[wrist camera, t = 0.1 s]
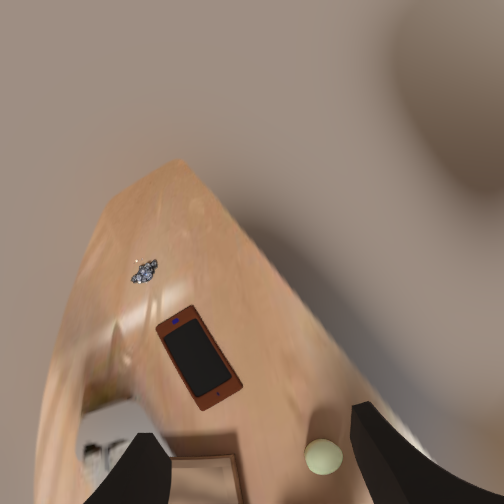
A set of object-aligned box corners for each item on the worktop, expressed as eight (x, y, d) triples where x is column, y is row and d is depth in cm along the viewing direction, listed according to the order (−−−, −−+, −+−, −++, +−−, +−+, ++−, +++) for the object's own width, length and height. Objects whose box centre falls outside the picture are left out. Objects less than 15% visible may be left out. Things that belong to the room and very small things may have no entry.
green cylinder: (338, 463, 32) (345, 469, 28) (306, 470, 32) (309, 478, 28) (333, 435, 35) (339, 438, 30) (301, 442, 35) (304, 447, 30)
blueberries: (121, 276, 51) (115, 272, 49) (150, 244, 53) (146, 239, 51) (142, 300, 49) (137, 296, 47) (173, 265, 50) (169, 261, 49)
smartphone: (191, 303, 46) (243, 387, 39) (193, 305, 47) (244, 387, 40) (153, 327, 44) (200, 412, 38) (155, 328, 45) (202, 412, 38)
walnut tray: (249, 535, 28) (246, 544, 25) (163, 534, 28) (155, 541, 25) (234, 453, 35) (229, 457, 32) (147, 456, 35) (137, 459, 32)
